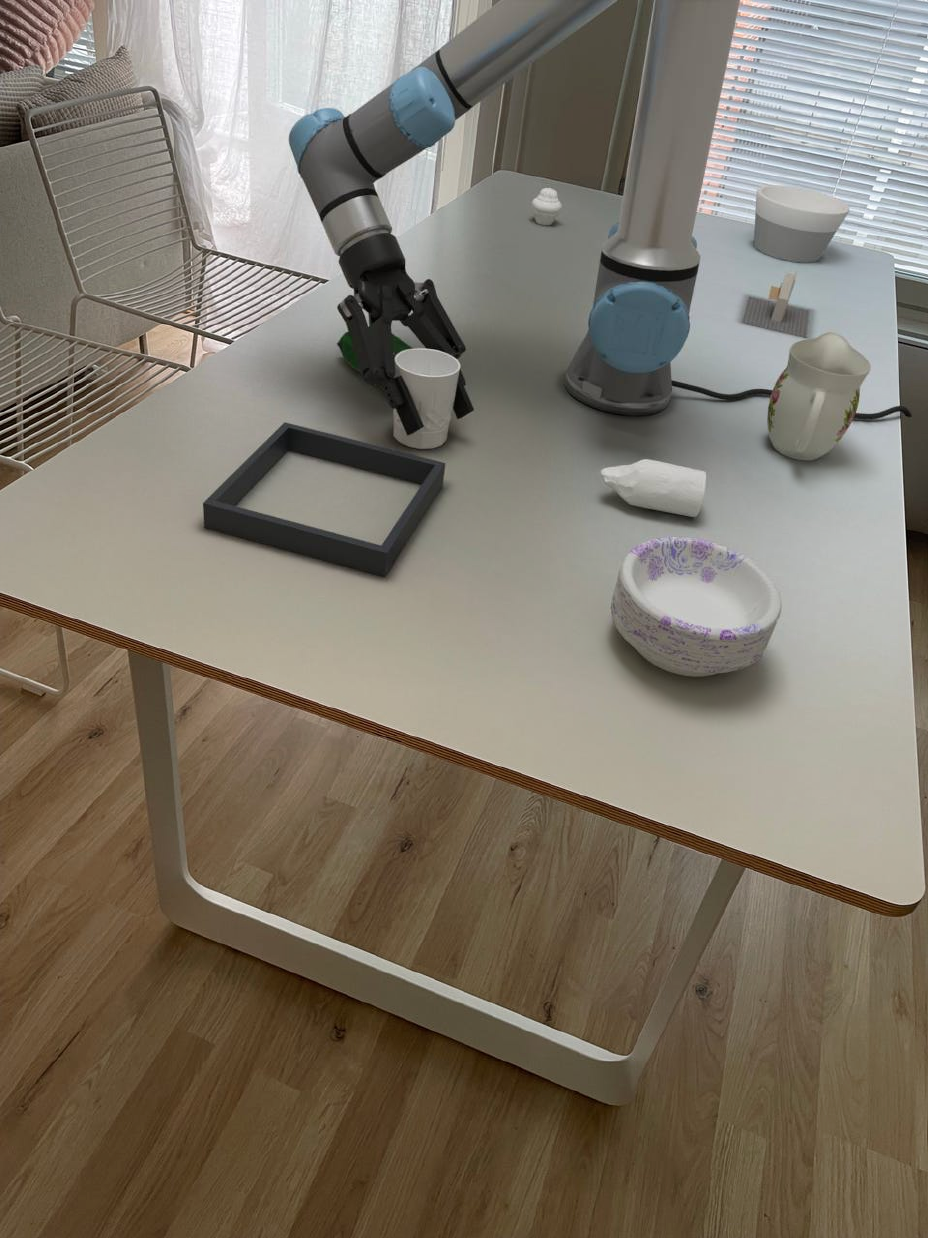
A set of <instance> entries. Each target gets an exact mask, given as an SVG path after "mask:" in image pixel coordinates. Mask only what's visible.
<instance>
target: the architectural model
mask: <svg viewBox="0 0 928 1238" xmlns="http://www.w3.org/2000/svg"><path fill="white" fill-rule="evenodd" d="M797 273H798V271H795V272H794V273H790V272H785V274H784V277H783V280H782V282H781V283H780V286H779V287H778V286H774V285H771V287H770V289H769V294H768V300H767V299H764V298H763V299H762V298H758V297H754V296H749V295H748V299H747V303H746V306H745V308H744V309H745V310H744V314H743V316H742V322H741V323H743V324H747V325H751V326H755V327H760V328H764V329H766V330H767V329H768V330H771V331H776V332H780V333H784V334H789V335H792V336H798V337H802V338H806V339H808V330H809V323H810V322H809V321H810V313H811V310H810V309H806V308H802V307H798V306H793V305H789V301H790V298H791V295H792V292H793V289H794V286H795V285H796V284H795V283H796V281H797Z"/></svg>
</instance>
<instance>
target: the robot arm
mask: <svg viewBox="0 0 928 1238" xmlns="http://www.w3.org/2000/svg"><path fill="white" fill-rule="evenodd" d="M617 1H618V0H499V1H497V2H496V3H495V4H494V5H492V6H491V7H490V8H489V9H487V10H486V11H485V12H484V13H482V14H481V15H480V16H479V17H478V18H475V20H474V21H472V22H471V23H470V24H469V25H467V26H466V27H464V29H462V30H461V31H460V32H459V33H457V34H456V35H454V37H452V38H451V39H449V40H448V41H447V42H446V43H445V44H443V45H442V46H441V47H440V48H439V49H438V50H436V51H435V52H434V53H432V54H431V55H429V56H428V57H427V58H425V59H424V60H423V61H422V62H420V64H418V65H417V66H415V67H414V68H412V69H411V70H410V71H408V72H407V73H404V74H403V75H401V76H400V77H398V78H397V79H396V80H394V81H393V83H391V84H390V85H389V86H387V87H386V88H384V89H383V90H381V91H380V92H378V94H376V95H375V96H373V97H372V98H371V99H369V100H368V101H367V102H365V103H364V104H363V105H361V106H360V107H359V108H357V109H356V110H355V111H353V112H352V113H350V114H348V115H346V116H345V115H344V114H343V113H342V112H341V110H339V109H337V108H333V107H324V108H323V107H322V108H319V109H317V110H315V111H314V112H312V113H307V114H305V115H304V116H302V117H300V118H299V119H298V120H297V121H296V122H295V123H294V124H293V126H292V127H291V129H290V131H289V134H288V144H289V148H290V151H291V154H292V157H293V159H294V161H295V164H296V168H297V169H296V170H297V173H298V175H299V176H300V178H301V179H302V181H303V183H304V186H305V188H306V190H307V193H308V194H309V197H310V199H311V201H312V203H313V206H314V208H315V210H316V212H317V214H318V217H319V219H320V222H321V224H322V227H323V229H324V232H325V234H326V236H327V238H328V239H327V240H328V241H329V243H330V246H331V248H332V251H333V252H334V255H336V256H337V257H339V258H338V265H339V267H340V270H341V271H342V274H343V276H344V279H345V281H346V283H347V286H348V287H349V288H350V289H352V290H353V294H348V295H347V296H346V297H344V298H343V300H341V302H339V304H337V306H336V309H337V311H338V313H339V315H340V317H341V318H342V320H343V321H344V323H345V325H346V328H347V332H349V335H350V339H351V342H352V345H353V349H354V352H355V356H356V359H357V362H358V366H359V369H360V372H359V373H360V376H361V379H362V381H363V382H364V383H365V384H370V383H372V384H373V386H374V387H375V388H378V389H379V388H380V387H382V388H381V389H382V391H383V394H384V396H385V398H386V400H387V402H388V405H389V407H390V408H391V409H392V410H393V409H396V411H397V413H398V415H399V418H400V420H401V422H402V425H403V427H404V429H405V431H406V434H407V436H408V435H411V434H413V433H415V432H416V431H418V430H419V429H421V428H423V427H424V425H423V423H422V420H421V418H420V416H419V413H418V411H417V409H416V406H415V404H414V402H413V399H412V397H411V395H410V392H409V390H408V388H407V385H406V384H405V382H404V380H403V378H402V375H401V376H397V377H396V378H394V376H395V366H394V354H393V343H392V333H393V332H392V323H393V321H396V322H400V323H401V324H402V325H403V326H404V327H407V328H408V329H409V330H410V331H411V332H412V333H413V335H414V336H415V338H416V339H418V341H419V342H420V343H421V344H422V346H423V347H424V348H425V349H433V350H438V351H441V352H444V353H447V354H449V355H451V356H453V357H454V358H456V359H457V360H459V358H461V356H462V354H464V353H465V352H466V350H467V348H466V345H465V343H464V341H463V340H462V339H461V336H460V334H459V333H458V330H457V329H456V327H455V325H454V324H453V322H452V320H451V318H450V316H449V314H448V313H447V311H446V309H445V308H444V306H443V304H442V302H441V301H440V299H439V297H438V294H437V291H436V287H435V284H434V281H433V279H430V278H428V279H426V280H424V282H415V281H414V280H413V278H411V276H410V275H409V274H408V273H407V269H406V258H405V255H404V253H403V250H402V248H401V246H400V244H399V241H398V239H397V236H396V235H394V234H393V233H392V231H393V226H392V224H391V222H390V220H389V218H388V215H387V213H386V211H385V208H384V206H383V204H382V201H381V199H380V196H379V194H378V192H377V190H376V187H375V184H374V183H375V182H376V181H378V180H379V179H382V178H384V177H385V176H386V175H388V174H389V173H390V172H392V171H393V170H395V169H397V168H398V167H400V166H402V165H403V164H404V163H406V162H408V161H409V160H411V159H412V158H414V157H416V156H417V155H419V154H420V153H422V152H423V151H424V150H426V149H428V148H432V147H433V146H435V145H436V143H438V142H439V141H441V139H442V138H443V137H445V136H446V135H448V134H449V133H450V132H451V131H453V129H454V128H455V125H456V121H458V119H459V118H461V117H462V116H464V115H465V114H466V113H468V112H469V111H470V110H471V109H472V108H474V107H475V106H476V105H478V104H479V103H480V102H482V101H484V99H486V98H487V97H488V96H490V95H491V94H492V93H494V92H495V91H496V90H498V89H499V88H501V87H502V86H504V85H505V84H506V83H508V82H509V81H510V80H512V79H513V78H514V77H516V76H517V75H519V74H520V73H521V72H522V71H523V70H525V69H527V68H528V67H529V66H530V65H532V64H533V63H535V62H536V61H538V60H539V59H541V58H542V57H543V56H544V55H546V54H547V53H548V52H550V51H551V50H552V49H554V48H555V47H556V46H558V45H559V44H561V43H562V42H563V41H565V40H566V39H567V38H568V37H570V36H571V35H573V34H574V33H575V32H577V31H578V30H579V29H581V28H582V27H583V26H585V25H586V24H588V22H590V21H592V20H593V19H594V18H595V17H597V16H598V15H600V14H601V13H602V12H605V10H607V9H608V8H609V7H610V6H612V5H613V4H615V3H617ZM740 2H741V0H653V4H652V10H651V11H652V12H651V17H650V23H649V29H648V36H647V42H646V47H645V48H646V49H645V55H644V61H643V68H642V74H641V81H640V86H639V93H638V100H637V106H636V111H635V118H634V125H633V131H632V137H631V143H630V150H629V154H628V155H629V156H628V163H627V169H626V174H625V175H626V176H625V182H624V188H623V194H622V201H621V207H620V213H619V219H618V222H615V223H614V224H612V226H611V227H610V229H609V232H608V234H607V235H608V236H607V239H606V240H605V241H604V242H603V243H602V245H601V252H600V258H599V264H598V271H597V277H596V278H597V279H596V283H595V291H594V297H593V303H592V308H591V309H590V313H589V315H588V322H587V327H588V330H587V332H586V335H585V336H584V338H583V339H582V341H581V343H580V345H579V347H578V349H577V351H576V352H575V353H574V355H573V357H572V359H571V361H570V363H569V364H568V366H567V368H566V372H565V376H564V377H565V378H564V387H565V389H566V390H567V392H568V393H569V394H570V395H571V396H572V397H573V398H575V399H576V400H578V401H579V402H581V403H583V404H585V405H587V406H589V407H592V408H595V409H597V410H600V411H604V412H607V413H612V414H616V415H624V416H647V415H653V414H657V413H659V412H661V411H663V410H665V409H666V408H667V407H668V405H669V403H670V399H671V396H672V393H673V387H674V388H678V389H683V390H687V391H690V392H695V393H698V394H702V395H705V396H708V397H711V398H713V399H718V400H723V401H736V400H737V401H738V400H741V399H744V398H747V397H751V396H755V395H764V396H770V397H771V394H772V391H773V389H767V388H751V389H747V390H744V391H741V392H737V393H730V394H729V393H720V392H716V391H713V390H710V389H707V388H705V387H701V386H697V385H694V384H689V383H686V382H681V381H677V380H673V379H672V363H671V362H672V361H673V360H674V359H675V358H676V357H677V356H678V355H679V354H680V352H681V351H682V349H683V348H684V347H685V344H686V341H687V339H688V337H689V334H690V331H691V330H690V329H691V322H690V318H691V317H690V312H691V305H692V300H693V296H694V293H695V286H696V281H697V276H698V272H699V267H700V263H701V258H702V257H701V255H700V253H699V252H698V250H697V248H698V242H697V239H696V238H695V236H693V232H694V228H695V222H696V218H697V212H698V208H699V203H700V199H701V193H702V188H703V183H704V178H705V175H706V168H707V163H708V160H709V159H708V158H709V154H710V149H711V145H712V140H713V134H714V129H715V125H716V119H717V116H718V109H719V104H720V99H721V95H722V91H723V86H724V81H725V75H726V70H727V66H728V62H729V61H728V60H729V56H730V51H731V47H732V46H731V45H732V42H733V36H734V32H735V26H736V22H737V17H738V12H739V8H740ZM364 311H365V312H366V313H367V315H368V321H367V318H366V315H365V312H364ZM411 312H412V313H411ZM368 327H370V331H372V337H373V341H372V338H371V334H370V331H369V328H368ZM466 385H467V381H466V379H465V377H464V374H463V372H462V369H461V368H460V372H459V377H458V383H457V389H456V394H455V400H454V405H453V409H452V411H453V412H454V414H455V416H456V417H455V418H456V419H457V420H459V419H462V418H464V417H465V416H467V415H469V414H470V413H473V412H475V409H474V406H473V403H472V402H471V399H470V396H469V394H468V392H467V389H466V388H465V387H466ZM898 412H901V413H903V415H904V416H905V417H906V418H912V417H913V415H912V412H911V411H910V409H908V408H907V407H906V406H903V405H896V406H893V407H890V408H888V409H885V410H882V411H879V412H874V413H864V412H863V413H862V412H861V413H860V412H859V413H858V412H856V414H855V416H854V418H853V420H854V419H855V420H878V419H882V418H884V417H887V416H890V415H892V414H895V413H898Z"/></svg>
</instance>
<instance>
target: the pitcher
mask: <svg viewBox="0 0 928 1238" xmlns="http://www.w3.org/2000/svg"><path fill="white" fill-rule="evenodd" d="M871 369H872V365H871V363H870V362H869V360H868V359H867V358H866V356H865V355H863V354H862V353H861V352H860V351H858V350H856V348H854V347H852V346H851V345H850V342H849V341H848V340H847V339H846V338H845V337H844V336H843V335H842V334H839V333H837V332H824V333H822V334H820V335H818V336H817V337H812V338H806V339H801V340H798V341H796V342H794V343H793V344H791V345H790V348H789V353H788V360H787V365H786V367H785V368H784V370H783V371H782V373H781V374H780V375H779V377H778V378H777V379H776V382H775V384H774V386H773V388H772V390H773V391H772V394H771V396H770V398H769V401H768V407H767V431H768V436H769V439H770V441H771V445H772V447H773V449H774V450H776V451H777V452H778V453H779V454H781V455H783V456H786V457H788V458H790V459H794V460H799V461H815V460H817V459H819V458H820V457H822V456H825V455H826V454H828V452H829V451H831V450H832V449H834V447H835V446H836V445H837V444H838V443H839V441H840V440H841V439H842V438H843V436H844V435H845V434H846V432H847V431H848V429H849V428H850V427H851V424H852V423H853V420H854V416H855V414H856V413H857V410H858V407H859V403H860V395H861V386H862V385H863V383H864V381H865V379H866V378H867V377H868V375H869V374H870V372H871Z"/></svg>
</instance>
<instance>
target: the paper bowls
mask: <svg viewBox="0 0 928 1238" xmlns="http://www.w3.org/2000/svg"><path fill="white" fill-rule="evenodd" d="M614 585H615V586H614V589H613V593H612V597H611V602H610V614H611V618H612V621H613V624H614V626H615V627H616V629H617V631H618V632H619V633H620V635H621V636H622V638H623V639H624V640H625V641H626V642H628V644H630V645H631V646H632V647H633V648H634V649H635V650H636V651H637V652H638V653H639V654H640V655H641V657H643V658H644V659H645V660H646V661H648V662H649V663H650V664H652V665H653V666H656V667H657V668H659V669H661V670H664V671H666V672H668V673H671V674H675V675H680V676H684V677H693V678H694V677H695V678H698V677H699V678H701V677H709V676H714V675H717V674H723V673H726V674H727V673H729V672H735V671H740V670H744V669H745V668H747V667H749V666H751V665H753V664H755V663H756V662H758V660H760V658H762V656H763V655H764V653H765V651H766V649H767V647H768V645H769V642H770V640H771V637H772V635H773V634H774V631H775V628H776V626H777V624H778V620H779V619H780V617H781V615H782V614H781V613H782V604H783V603H782V598H781V593H780V591H779V589H778V587H777V585H776V583H775V581H774V580H773V579H772V578H771V576H770V575H769V574H768V572H766V571H765V570H764V569H763V568H762V567H761V566H760V565H758V564H757V563H756V562H755V561H753V560H751V559H750V558H748V557H747V556H745V555H743V554H742V553H739V552H738V551H735V550H734V549H732V548H729V547H727V546H724V545H722V544H718V543H715V542H713V541H709V540H705V539H699V538H693V537H686V536H685V537H683V536H668V537H667V536H666V537H659V538H653V539H650V540H647V541H644V542H642V543H640V544H638V545H636V546H635V547H633V548H632V549H630V550H629V551H628V553H627V554H625V556H624V557H623V559H622V561H621V563H620V567H619V570H618V574H617V579H616V582H615V584H614Z"/></svg>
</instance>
